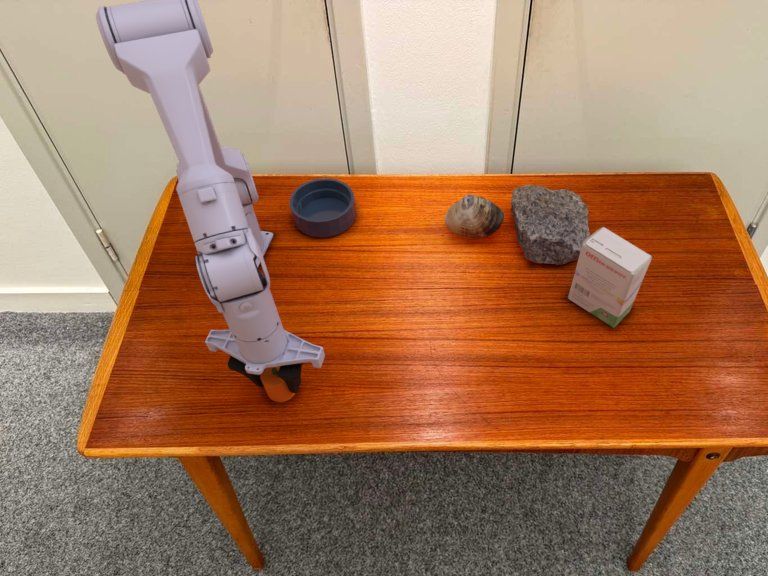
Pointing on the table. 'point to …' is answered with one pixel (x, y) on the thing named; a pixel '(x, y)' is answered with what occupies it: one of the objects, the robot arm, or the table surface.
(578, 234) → the rock
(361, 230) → the table surface
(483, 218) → the seashell
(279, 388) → the squash
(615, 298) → the ink box
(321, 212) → the bowl
